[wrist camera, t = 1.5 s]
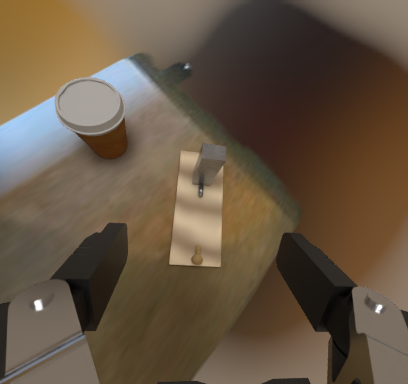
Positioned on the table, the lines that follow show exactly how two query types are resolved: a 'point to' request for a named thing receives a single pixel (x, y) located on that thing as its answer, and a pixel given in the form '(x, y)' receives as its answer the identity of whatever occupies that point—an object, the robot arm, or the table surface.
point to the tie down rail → (196, 218)
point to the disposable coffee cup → (94, 114)
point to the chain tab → (208, 165)
